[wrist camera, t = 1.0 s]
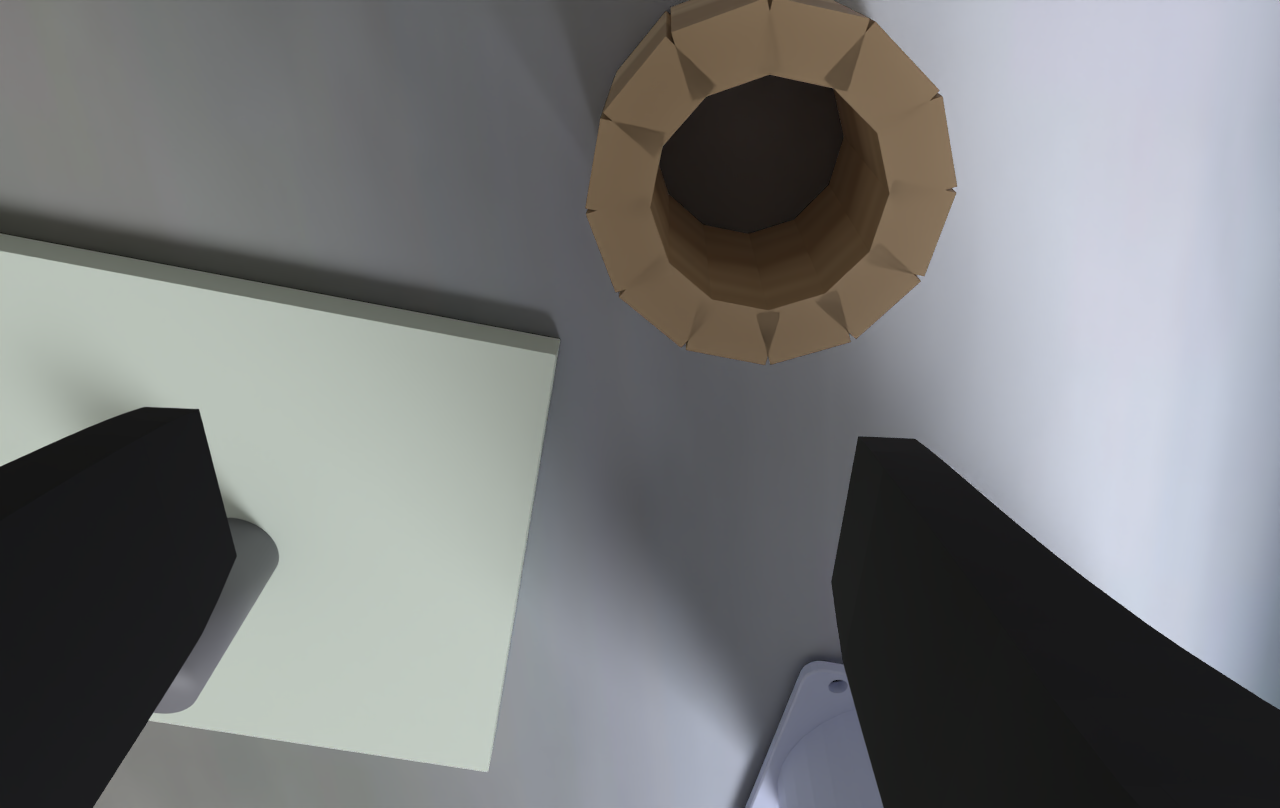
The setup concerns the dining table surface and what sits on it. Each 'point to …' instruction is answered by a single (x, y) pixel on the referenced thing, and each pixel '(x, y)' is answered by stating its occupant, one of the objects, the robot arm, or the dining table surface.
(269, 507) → the white board with peg
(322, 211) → the dining table surface
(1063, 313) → the dining table surface
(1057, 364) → the dining table surface
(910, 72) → the bead
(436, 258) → the dining table surface
